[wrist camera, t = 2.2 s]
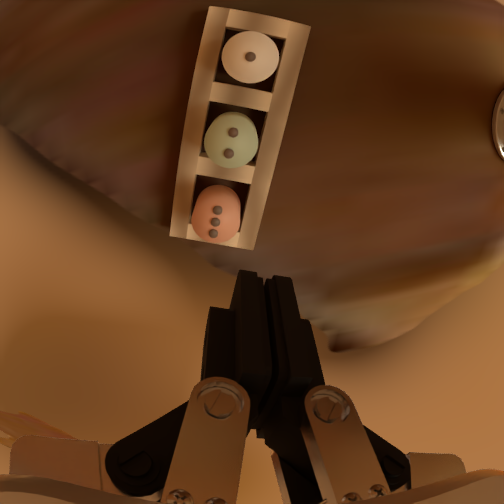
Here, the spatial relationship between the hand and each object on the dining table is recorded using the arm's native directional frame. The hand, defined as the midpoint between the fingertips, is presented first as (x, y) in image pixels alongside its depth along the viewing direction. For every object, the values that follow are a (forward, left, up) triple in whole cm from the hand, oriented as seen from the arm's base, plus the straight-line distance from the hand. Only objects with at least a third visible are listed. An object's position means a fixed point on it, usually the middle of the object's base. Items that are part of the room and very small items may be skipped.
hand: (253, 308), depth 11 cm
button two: (+2, -1, -24) cm, 24 cm away
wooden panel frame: (+2, -1, -27) cm, 27 cm away
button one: (+2, -9, -24) cm, 26 cm away
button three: (+2, +7, -24) cm, 25 cm away
